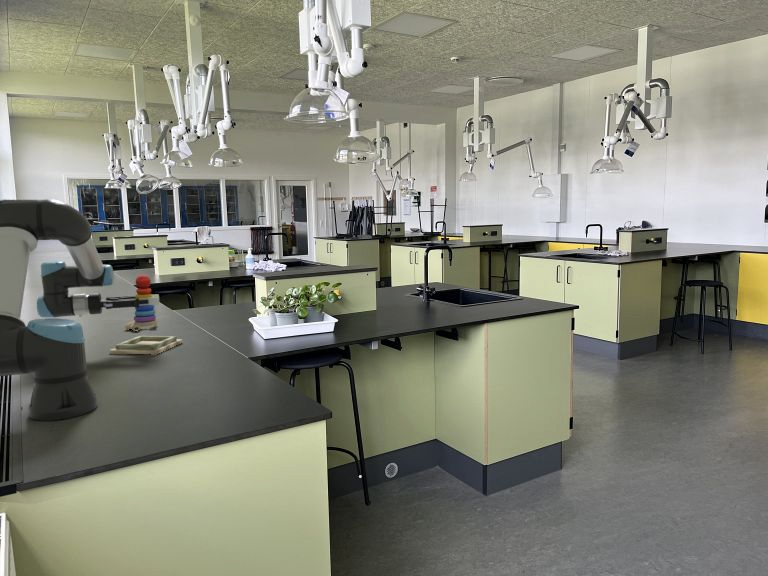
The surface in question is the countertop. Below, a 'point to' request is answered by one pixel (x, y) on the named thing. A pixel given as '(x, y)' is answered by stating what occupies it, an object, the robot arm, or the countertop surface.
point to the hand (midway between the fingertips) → (158, 299)
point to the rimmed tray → (146, 345)
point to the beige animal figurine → (131, 326)
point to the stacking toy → (145, 312)
